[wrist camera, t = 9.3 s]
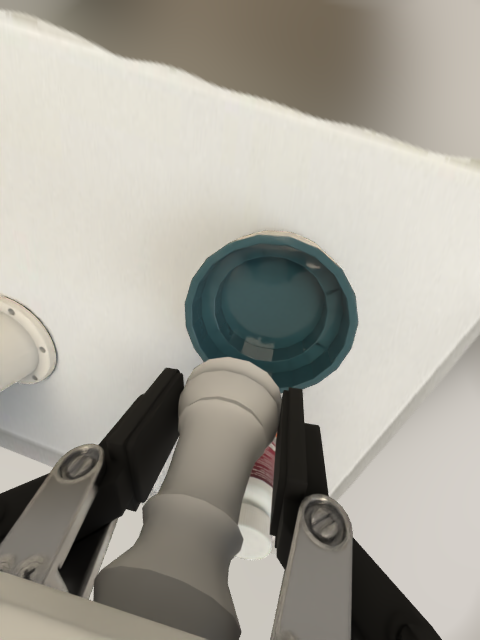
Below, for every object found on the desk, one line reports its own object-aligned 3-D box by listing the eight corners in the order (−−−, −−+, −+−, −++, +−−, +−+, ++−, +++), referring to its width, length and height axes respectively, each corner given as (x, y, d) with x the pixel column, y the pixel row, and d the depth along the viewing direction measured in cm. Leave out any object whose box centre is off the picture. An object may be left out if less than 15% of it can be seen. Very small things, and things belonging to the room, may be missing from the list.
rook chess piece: (261, 441, 12) (220, 756, 5) (180, 407, 13) (30, 668, 5) (299, 375, 11) (317, 729, 3) (202, 335, 11) (16, 591, 3)
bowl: (206, 351, 28) (188, 381, 23) (205, 225, 22) (181, 229, 18) (327, 368, 26) (336, 405, 21) (358, 235, 20) (380, 242, 16)
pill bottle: (227, 419, 31) (196, 519, 21) (275, 415, 30) (267, 521, 19) (240, 454, 33) (218, 560, 23) (286, 452, 32) (284, 566, 21)
